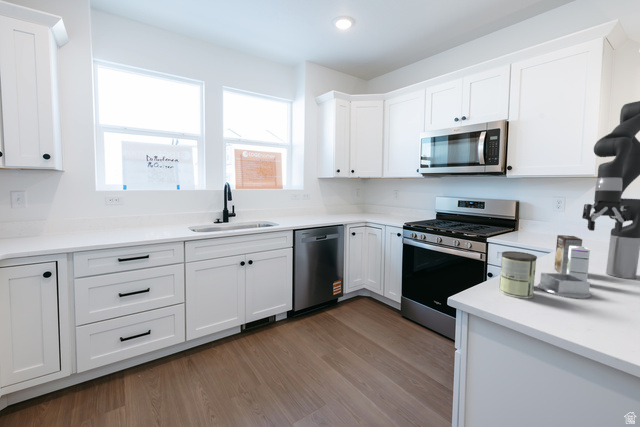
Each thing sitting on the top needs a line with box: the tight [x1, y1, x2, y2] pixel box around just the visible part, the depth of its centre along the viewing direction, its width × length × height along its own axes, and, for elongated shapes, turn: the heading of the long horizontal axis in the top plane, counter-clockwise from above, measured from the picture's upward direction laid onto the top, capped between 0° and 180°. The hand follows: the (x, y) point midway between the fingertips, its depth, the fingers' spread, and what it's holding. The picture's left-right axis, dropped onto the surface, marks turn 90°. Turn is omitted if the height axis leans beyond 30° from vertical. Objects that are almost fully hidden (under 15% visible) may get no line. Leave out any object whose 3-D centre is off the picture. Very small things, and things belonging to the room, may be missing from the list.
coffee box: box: [553, 234, 583, 274], centre depth 132 cm, size 9×6×16 cm
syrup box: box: [567, 245, 591, 282], centre depth 118 cm, size 6×6×14 cm
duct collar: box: [537, 272, 591, 299], centre depth 110 cm, size 15×15×5 cm
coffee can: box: [499, 250, 538, 299], centre depth 106 cm, size 10×10×14 cm
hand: (604, 231), depth 118 cm, fingers open, 8 cm apart
